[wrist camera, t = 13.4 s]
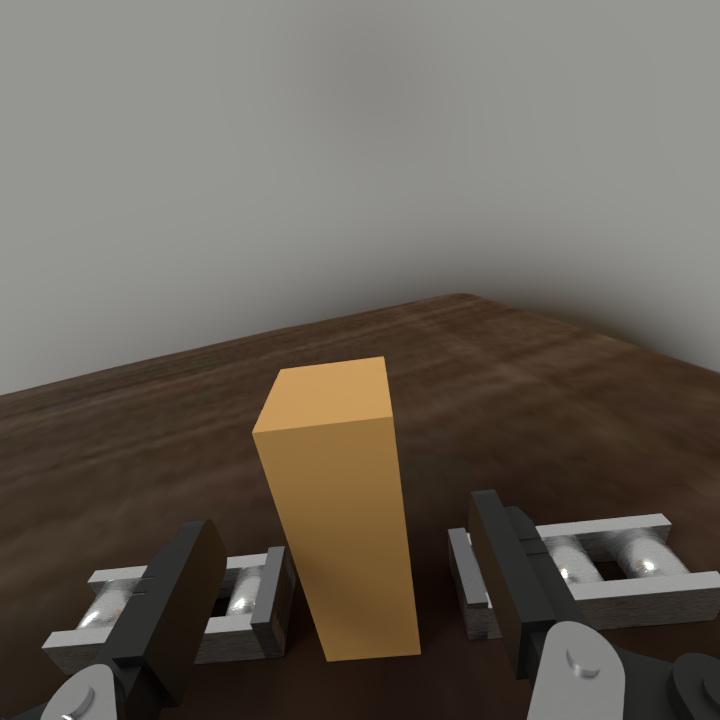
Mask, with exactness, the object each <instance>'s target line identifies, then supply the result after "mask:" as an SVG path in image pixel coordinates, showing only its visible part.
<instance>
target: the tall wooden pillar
mask: <svg viewBox="0 0 720 720" xmlns="http://www.w3.org/2000/svg"><path fill="white" fill-rule="evenodd" d="M252 435H253V438H254V441H255V444H256V447H257V450H258V453H259V456H260V459H261V462H262V465H263V468H264V471H265V474H266V477H267V480H268V483H269V486H270V489H271V492H272V495H273V498H274V502H275V505H276V508H277V511H278V514H279V517H280V520H281V523H282V526H283V529H284V532H285V535H286V538H287V541H288V544H289V547H290V550H291V553H292V556H293V559H294V562H295V565H296V568H297V571H298V575H299V578H300V581H301V584H302V587H303V590H304V593H305V596H306V599H307V602H308V605H309V608H310V611H311V614H312V617H313V620H314V623H315V626H316V629H317V632H318V635H319V638H320V641H321V645H322V648H323V651H324V654H325V657H326V660H327V662H328V661H340V660H353V659H366V658H379V657H392V656H405V655H418V654H421V649H420V641H419V632H418V624H417V616H416V607H415V599H414V590H413V582H412V574H411V565H410V557H409V548H408V540H407V532H406V523H405V515H404V507H403V498H402V490H401V481H400V473H399V465H398V456H397V448H396V440H395V431H394V423H393V415H392V408H391V402H390V395H389V388H388V382H387V375H386V368H385V362H384V357H376V358H368V359H360V360H353V361H345V362H337V363H329V364H321V365H313V366H305V367H297V368H290V369H282V370H280V372H279V374H278V377H277V379H276V381H275V383H274V385H273V388H272V390H271V392H270V394H269V396H268V399H267V401H266V403H265V405H264V407H263V410H262V412H261V414H260V416H259V418H258V421H257V423H256V425H255V427H254V429H253V432H252Z"/></svg>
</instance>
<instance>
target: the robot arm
mask: <svg viewBox="0 0 720 720" xmlns="http://www.w3.org/2000/svg"><path fill="white" fill-rule="evenodd" d="M468 527H469V535H470V540H471V544H472V548H473V551H474V554H475V557H476V560H477V563H478V566H479V569H480V572H481V575H482V578H483V581H484V584H485V587H486V590H487V593H488V596H489V599H490V602H491V605H492V608H493V611H494V614H495V617H496V620H497V623H498V626H499V629H500V632H501V635H502V638H503V641H504V644H505V647H506V650H507V653H508V656H509V659H510V662H511V665H512V668H513V671H514V674H515V677H516V680H521V679H529V681H530V683H531V686H532V689H533V696H532V700H531V704H530V708H529V713H528V717H527V720H720V660H719V659H717V658H714V657H712V656H709V655H705V654H701V653H686V654H683V655H681V656H680V657H678V658H677V659H676V661H675V663H670V662H666V661H663V660H659V659H655V658H651V657H647V656H644V655H640V654H636V653H633V652H630V651H627V650H624V649H622V648H620V647H618V646H616V645H614V644H613V643H611V642H609V641H608V640H607V639H605V638H604V637H603V636H601V635H600V634H599V633H598V632H597V631H596V630H595V629H594V628H593V627H592V626H591V625H590V624H589V622H588V621H587V620H586V618H585V617H584V615H583V613H582V612H581V610H580V608H579V606H578V604H577V602H576V601H575V599H574V597H573V595H572V593H571V591H570V590H569V588H568V586H567V584H566V582H565V580H564V579H563V577H562V575H561V573H560V571H559V569H558V567H557V566H556V564H555V562H554V560H553V558H552V556H550V554H549V551H548V549H547V547H546V545H545V544H544V542H543V541H542V539H541V536H540V534H539V533H538V531H537V529H536V527H535V525H534V523H533V521H532V520H531V519H530V518H529V517H528V516H527V515H526V514H525V513H524V512H523V511H521V510H520V509H519V508H518V507H517V506H511V507H503V505H502V503H501V501H500V499H499V497H498V495H497V493H496V491H495V490H494V489H488V490H479V491H470V492H469V493H468ZM226 568H227V553H226V549H225V547H224V545H223V543H222V540H221V538H220V536H219V534H218V531H217V529H216V527H215V525H214V523H213V521H212V520H210V519H208V520H199V521H190V522H185V523H184V524H183V525H182V526H181V528H180V529H179V531H178V533H177V535H176V537H175V539H174V541H173V542H167V543H166V544H165V545H164V546H163V547H162V548H161V549H160V550H159V552H158V553H157V554H156V555H155V556H154V557H153V558H152V559H151V561H150V563H149V564H148V566H147V568H146V570H145V571H144V573H143V575H142V577H141V581H139V582H138V584H137V586H136V587H135V589H134V591H133V595H132V597H130V598H129V600H128V602H127V603H126V605H125V607H124V609H123V611H122V612H121V614H120V616H119V618H118V619H117V621H116V623H115V625H114V627H113V628H112V630H111V632H110V634H109V635H108V637H107V639H106V641H105V642H104V644H103V646H102V648H101V650H100V651H99V653H98V655H97V657H96V658H95V660H94V661H93V663H92V664H91V666H89V667H87V668H85V669H83V670H81V671H79V672H78V673H76V674H75V675H74V676H72V677H71V678H70V679H69V680H68V681H67V682H65V683H64V684H63V685H62V686H61V688H60V689H59V690H58V691H57V692H56V693H55V695H54V696H53V697H52V699H51V700H50V701H48V702H46V703H44V704H41V705H39V706H37V707H35V708H32V709H30V710H28V711H26V712H24V713H21V714H19V715H17V716H15V717H12V718H10V719H8V720H158V717H159V715H160V712H161V709H162V708H166V707H178V706H180V703H181V700H182V697H183V694H184V691H185V688H186V685H187V682H188V680H189V677H190V674H191V671H192V668H193V665H194V662H195V659H196V656H197V654H198V651H199V648H200V645H201V642H202V639H203V636H204V633H205V630H206V628H207V625H208V622H209V619H210V616H211V613H212V610H213V607H214V604H215V602H216V599H217V596H218V593H219V590H220V587H221V584H222V581H223V578H224V576H225V572H226ZM0 720H5V719H3V718H2V717H1V716H0Z"/></svg>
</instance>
